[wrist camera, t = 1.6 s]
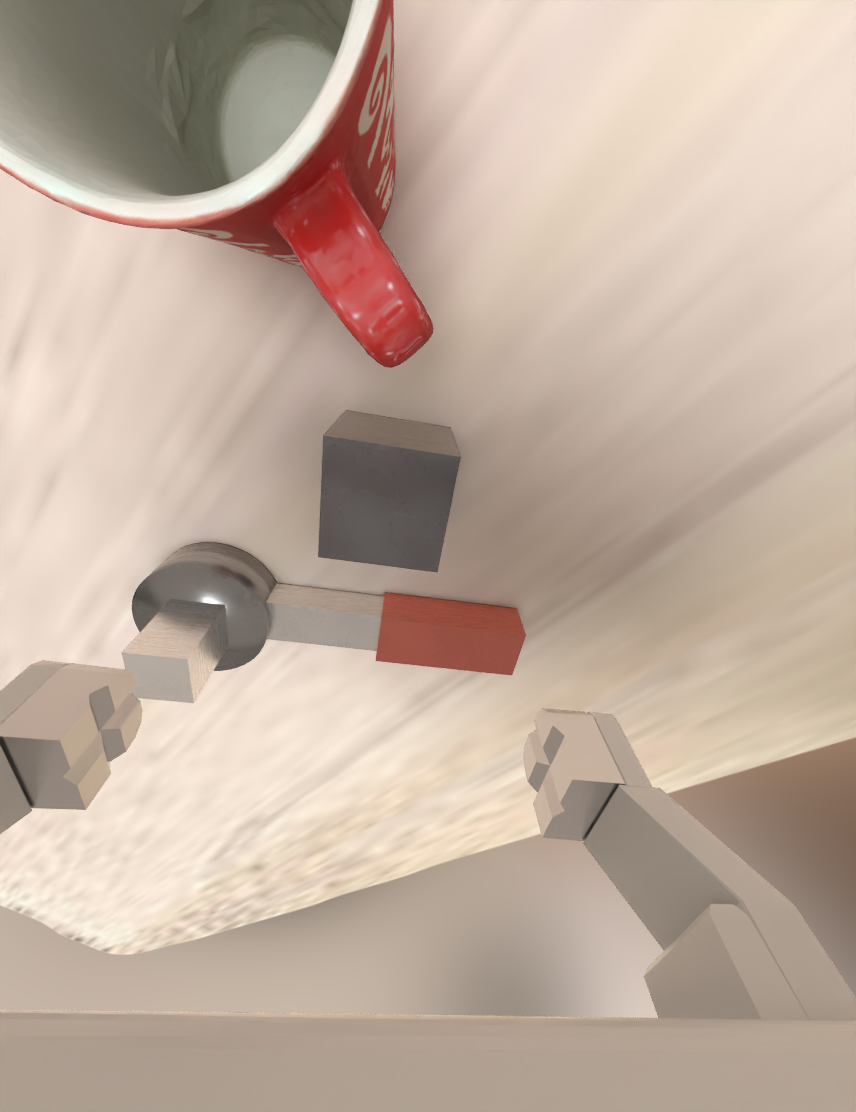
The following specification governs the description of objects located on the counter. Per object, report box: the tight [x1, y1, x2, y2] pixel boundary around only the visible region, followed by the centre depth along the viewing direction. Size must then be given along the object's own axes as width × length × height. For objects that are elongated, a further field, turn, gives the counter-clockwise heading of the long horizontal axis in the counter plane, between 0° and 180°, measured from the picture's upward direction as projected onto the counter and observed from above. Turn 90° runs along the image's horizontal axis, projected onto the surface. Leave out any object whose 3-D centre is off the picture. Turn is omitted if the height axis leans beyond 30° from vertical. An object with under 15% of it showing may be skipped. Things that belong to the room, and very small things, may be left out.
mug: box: [0, 0, 433, 367], centre depth 12 cm, size 13×9×14 cm
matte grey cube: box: [318, 410, 460, 572], centre depth 21 cm, size 6×6×6 cm
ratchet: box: [122, 542, 526, 703], centre depth 25 cm, size 23×8×8 cm, turn 81°
